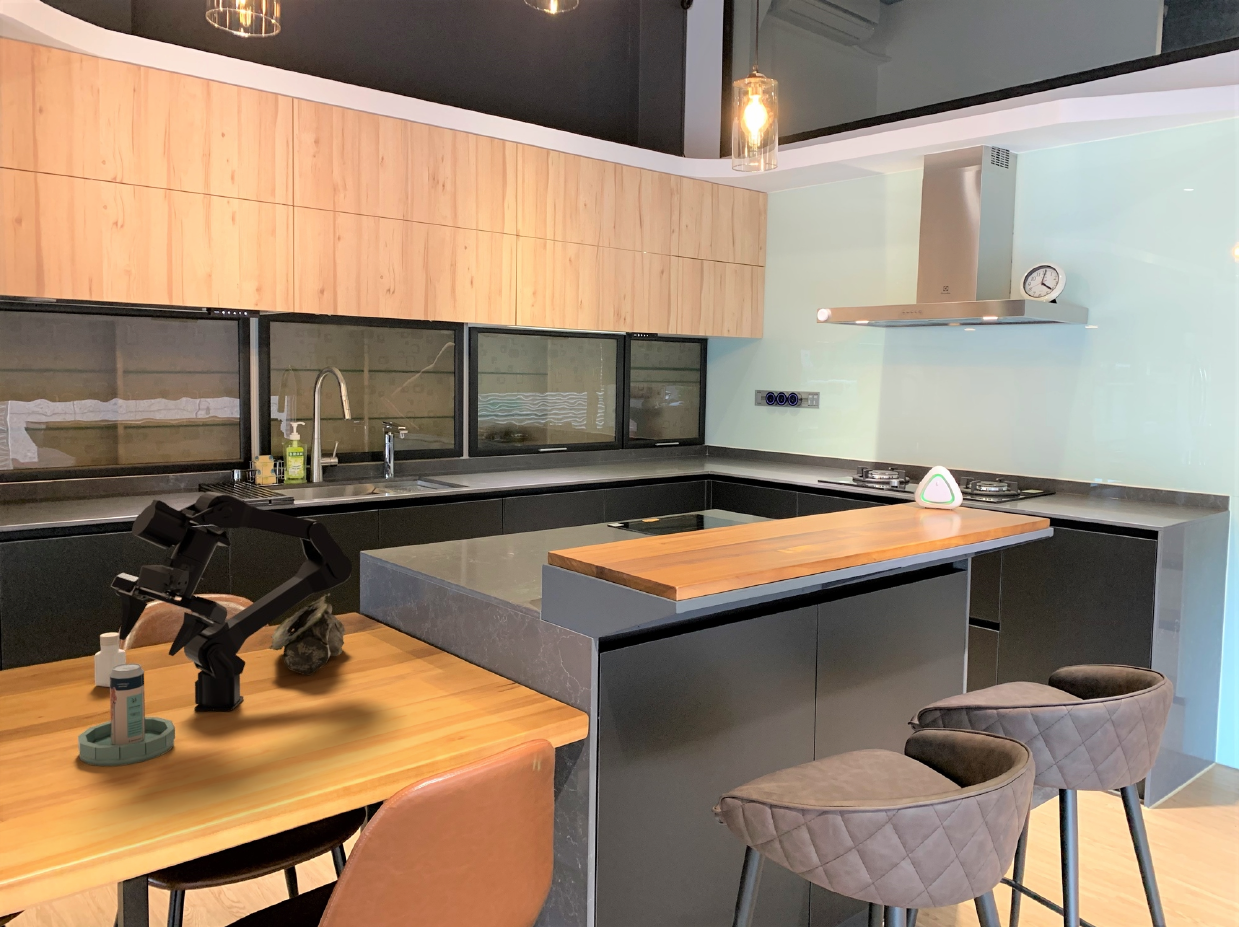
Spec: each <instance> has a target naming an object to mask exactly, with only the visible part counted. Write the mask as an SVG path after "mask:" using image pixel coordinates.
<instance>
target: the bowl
mask: <svg viewBox="0 0 1239 927" xmlns="http://www.w3.org/2000/svg"><path fill="white" fill-rule="evenodd" d="M175 739H176V727H175V724H174V722H173V721H172V720H170V719H165V718H162V717H159V716H145V739H144V740H143V741H141V742H136V743H130V744H125V745H114V744H112V743H111V720H108V721H106V722H102V723H99V724H96V725H94V726H90V727H88V728H87V729H86V730H84V731H83V732H82V733H80V734H79V735H78V736H77V741H78V743H77V744H78V745H77V746H78V751H79V752H78V754H79V760H80V761H81V762H83V763H85V764H88V765H91V766H98V767H117V766H127V765H133V764H138V763H141V762H147V761H149V760H152V759H155V758H157V757H160V756H162V755H164V754H166V753H167V752H169V751H171V750H172V749H173V747H174V745H175Z"/></svg>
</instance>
